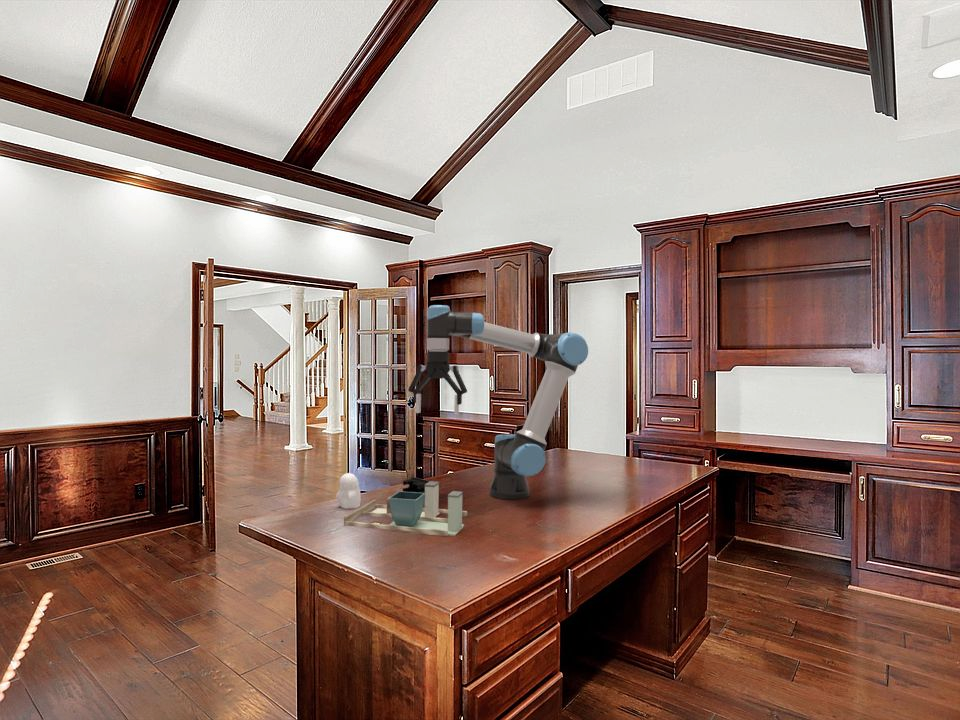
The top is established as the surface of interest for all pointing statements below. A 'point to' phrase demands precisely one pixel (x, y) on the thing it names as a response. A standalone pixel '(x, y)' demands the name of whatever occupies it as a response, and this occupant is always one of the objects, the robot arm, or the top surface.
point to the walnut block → (388, 506)
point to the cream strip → (426, 500)
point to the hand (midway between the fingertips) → (437, 413)
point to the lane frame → (373, 504)
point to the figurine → (349, 492)
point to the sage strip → (453, 516)
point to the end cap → (415, 485)
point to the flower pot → (406, 507)
